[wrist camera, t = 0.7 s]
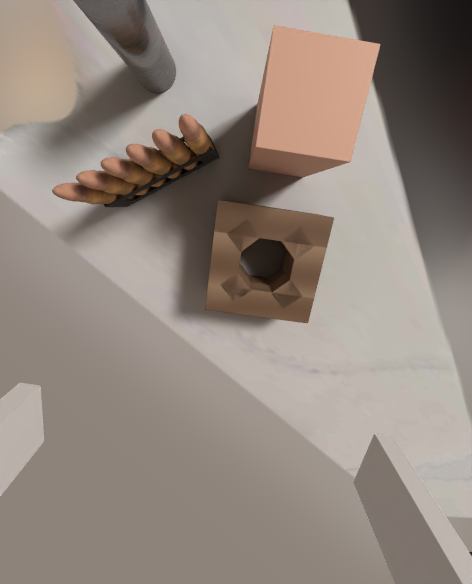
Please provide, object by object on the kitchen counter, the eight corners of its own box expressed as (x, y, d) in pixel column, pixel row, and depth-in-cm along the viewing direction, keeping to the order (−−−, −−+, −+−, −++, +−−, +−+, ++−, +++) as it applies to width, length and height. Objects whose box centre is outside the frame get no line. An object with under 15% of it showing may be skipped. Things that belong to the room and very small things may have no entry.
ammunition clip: (125, 207, 28) (50, 212, 17) (115, 189, 28) (30, 183, 16) (219, 157, 27) (206, 127, 15) (210, 138, 26) (190, 91, 15)
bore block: (221, 199, 28) (217, 200, 23) (317, 214, 28) (334, 217, 23) (210, 292, 31) (205, 309, 26) (297, 304, 31) (307, 323, 27)
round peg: (137, 43, 24) (46, -100, 12) (177, 50, 24) (122, -85, 13) (136, 89, 25) (52, -3, 13) (174, 95, 25) (121, 9, 14)
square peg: (257, 103, 25) (273, 25, 14) (316, 113, 25) (380, 44, 14) (248, 168, 27) (255, 146, 16) (303, 177, 27) (350, 161, 16)
